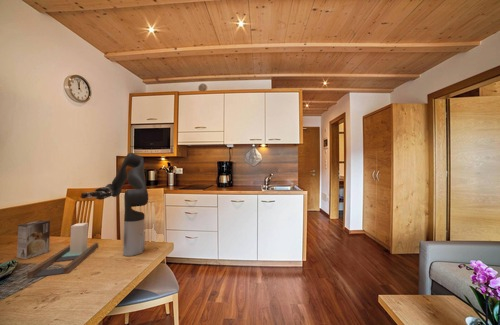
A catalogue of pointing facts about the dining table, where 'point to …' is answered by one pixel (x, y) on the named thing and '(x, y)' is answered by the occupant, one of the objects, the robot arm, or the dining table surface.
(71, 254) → the pad
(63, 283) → the dining table surface
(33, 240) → the coffee box
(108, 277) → the dining table surface
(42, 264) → the frame
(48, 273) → the grey base plate
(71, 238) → the cream block
